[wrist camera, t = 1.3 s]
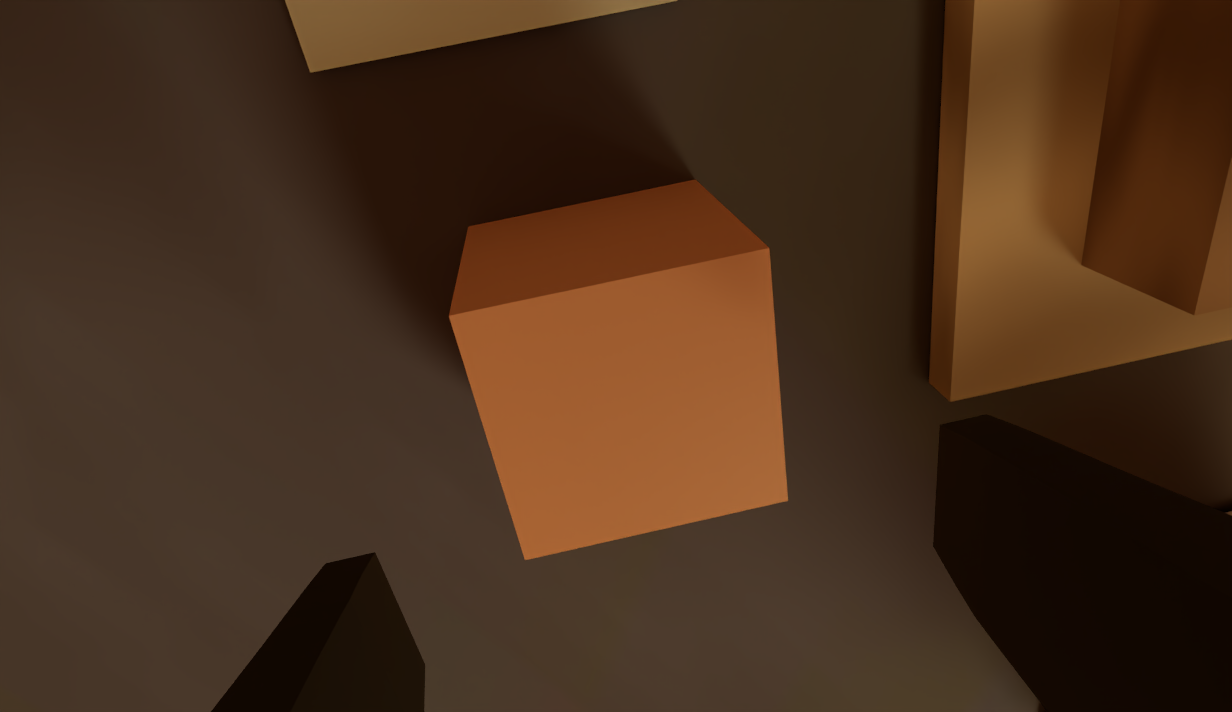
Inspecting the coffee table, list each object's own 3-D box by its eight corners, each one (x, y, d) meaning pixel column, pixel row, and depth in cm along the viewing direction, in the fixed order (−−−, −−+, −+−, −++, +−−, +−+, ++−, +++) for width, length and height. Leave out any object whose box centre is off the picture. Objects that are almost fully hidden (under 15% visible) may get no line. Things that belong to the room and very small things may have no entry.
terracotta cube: (718, 375, 17) (787, 500, 13) (522, 418, 17) (525, 560, 13) (694, 178, 15) (768, 248, 11) (468, 225, 15) (449, 316, 10)
